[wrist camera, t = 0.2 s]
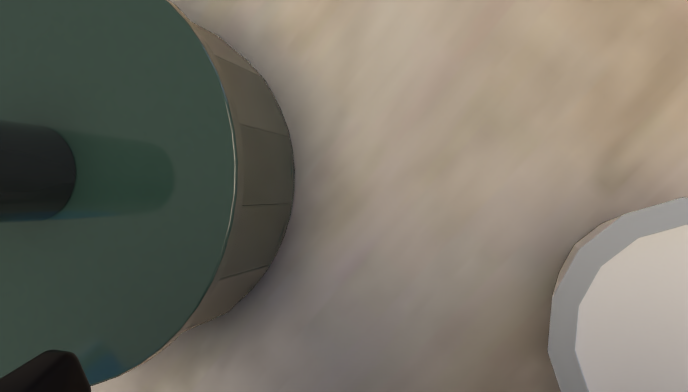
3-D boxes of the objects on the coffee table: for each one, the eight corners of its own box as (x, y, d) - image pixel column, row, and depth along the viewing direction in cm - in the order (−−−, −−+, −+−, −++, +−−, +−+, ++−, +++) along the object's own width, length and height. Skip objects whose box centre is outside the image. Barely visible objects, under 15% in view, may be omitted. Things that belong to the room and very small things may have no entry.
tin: (346, 258, 24) (296, 278, 19) (83, 377, 27) (-30, 425, 22) (218, -34, 26) (133, -99, 20) (-20, 109, 29) (-154, 88, 23)
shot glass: (809, 286, 21) (954, 332, 14) (661, 443, 22) (728, 556, 15) (626, 154, 22) (676, 136, 15) (496, 308, 23) (488, 355, 16)
